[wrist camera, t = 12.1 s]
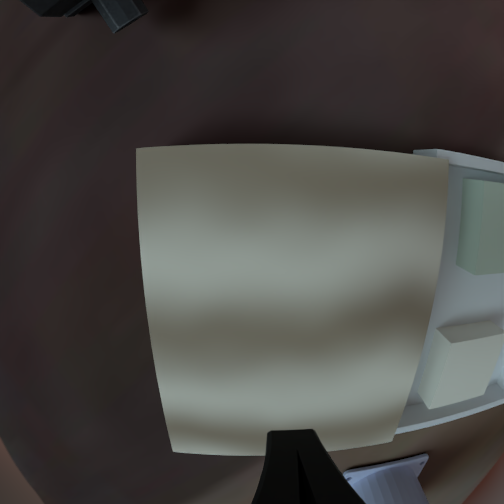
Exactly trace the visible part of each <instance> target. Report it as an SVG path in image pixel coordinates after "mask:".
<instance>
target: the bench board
mask: <svg viewBox="0 0 504 504" xmlns="http://www.w3.org/2000/svg"><path fill="white" fill-rule="evenodd" d="M136 171H137V203H138V222H139V238H140V251H141V263H142V273H143V283H144V292H145V301H146V309H147V317H148V324H149V331H150V338H151V344H152V351H153V357H154V363H155V369H156V374H157V380H158V385H159V390H160V396H161V400H162V405H163V410H164V415H165V419H166V424H167V428H168V433H169V437H170V441H171V445H172V449H173V452H182V453H194V454H210V455H245V456H252V455H265V453H266V440H267V433H268V432H269V431H271V430H299V429H313V430H315V431H316V433H317V435H318V437H319V439H320V441H321V442H322V444H323V446H324V448H325V449H326V451H335V450H343V449H350V448H357V447H364V446H370V445H376V444H381V443H387V442H392V440H393V437H394V435H395V432H396V429H397V427H398V424H399V422H400V419H401V416H402V413H403V411H404V408H405V405H406V402H407V399H408V396H409V393H410V390H411V387H412V384H413V381H414V377H415V374H416V371H417V367H418V364H419V360H420V357H421V353H422V349H423V345H424V342H425V338H426V333H427V329H428V325H429V321H430V316H431V312H432V307H433V302H434V297H435V292H436V286H437V280H438V274H439V268H440V262H441V255H442V247H443V239H444V230H445V221H446V209H447V195H448V175H449V160H448V159H441V158H435V157H428V156H421V155H414V154H406V153H398V152H389V151H379V150H369V149H358V148H346V147H331V146H314V145H290V144H203V145H179V146H162V147H148V148H136Z"/></svg>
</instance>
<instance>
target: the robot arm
mask: <svg viewBox="0 0 504 504" xmlns="http://www.w3.org/2000/svg"><path fill="white" fill-rule="evenodd" d="M428 458H429V456H428V454H422V455H418V456H414V457H410V458H406V459H402V460H398V461H393V462H388V463H384V464H379V465H373V466H368V467H362V468H356V469H350V470H347V471H346V472H344V474H343V475H342V473H341V472H340V471H339V469H338V468H337V466H336V465H335V463H334V462H333V460H332V459H331V457H330V456H329V454H328V453H327V451H326V449H325V448H324V446H323V444H322V442H321V441H320V439H319V437H318V435H317V433H316V431H315V430H313V429H299V430H271V431H269V432H268V433H267V440H266V453H265V462H264V467H263V471H262V474H261V477H260V481H259V484H258V487H257V490H256V493H255V496H254V498H253V501H252V503H251V504H429V503H428V500H427V498H426V496H425V494H424V492H423V489H422V487H421V485H420V483H419V481H418V479H417V478H418V476H419V474H420V472H421V471H422V469H423V467H424V465H425V464H426V462H427V460H428Z"/></svg>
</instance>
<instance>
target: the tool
mask: <svg viewBox="0 0 504 504" xmlns="http://www.w3.org/2000/svg"><path fill="white" fill-rule="evenodd" d="M20 1H21V2H22V3H24V4H25V5H26V6H27V7H29V8H30V9H31V10H32V11H34V12H35V13H36V14H37V15H39V16H40V17H61V16H63V15H65V16H66V17H72V16H75V15H76V14H78V13H79V12H80V11H82V10H83V9H85V8H86V7H87V6H89V5H90V4H92V3H93V4H94V5H95V7H96V8H97V10H98V11H99V13H100V14H101V16H102V17H103V19H104V20H105V22H106V23H107V25H108V26H109V27H110V29H111V30H112V32H113V33H116V32H118V31H120V30H121V29H123V28H125V27H126V26H128V25H130V24H131V23H133V22H134V21H136V20H137V19H139V18H140V17H142V16H144V15H145V14H147V12H148V9H147V8H146V6H145V5H144V3H143V2H142V0H20Z"/></svg>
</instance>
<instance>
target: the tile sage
mask: <svg viewBox="0 0 504 504" xmlns="http://www.w3.org/2000/svg"><path fill="white" fill-rule="evenodd" d="M456 265H457V266H459V267H461V268H462V269H464V270H466V271H468V272H470V273H471V274H473V275H486V274H497V273H504V183H498V182H491V181H483V180H475V179H466V178H463V183H462V205H461V220H460V231H459V241H458V250H457V258H456Z"/></svg>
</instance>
